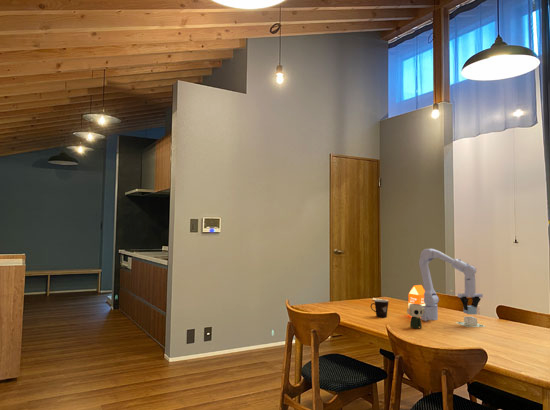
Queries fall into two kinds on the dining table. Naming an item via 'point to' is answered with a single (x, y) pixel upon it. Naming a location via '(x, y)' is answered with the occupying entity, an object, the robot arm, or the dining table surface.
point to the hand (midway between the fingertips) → (470, 309)
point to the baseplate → (469, 325)
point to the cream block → (470, 321)
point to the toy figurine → (415, 315)
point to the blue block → (471, 310)
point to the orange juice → (417, 295)
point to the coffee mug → (381, 308)
